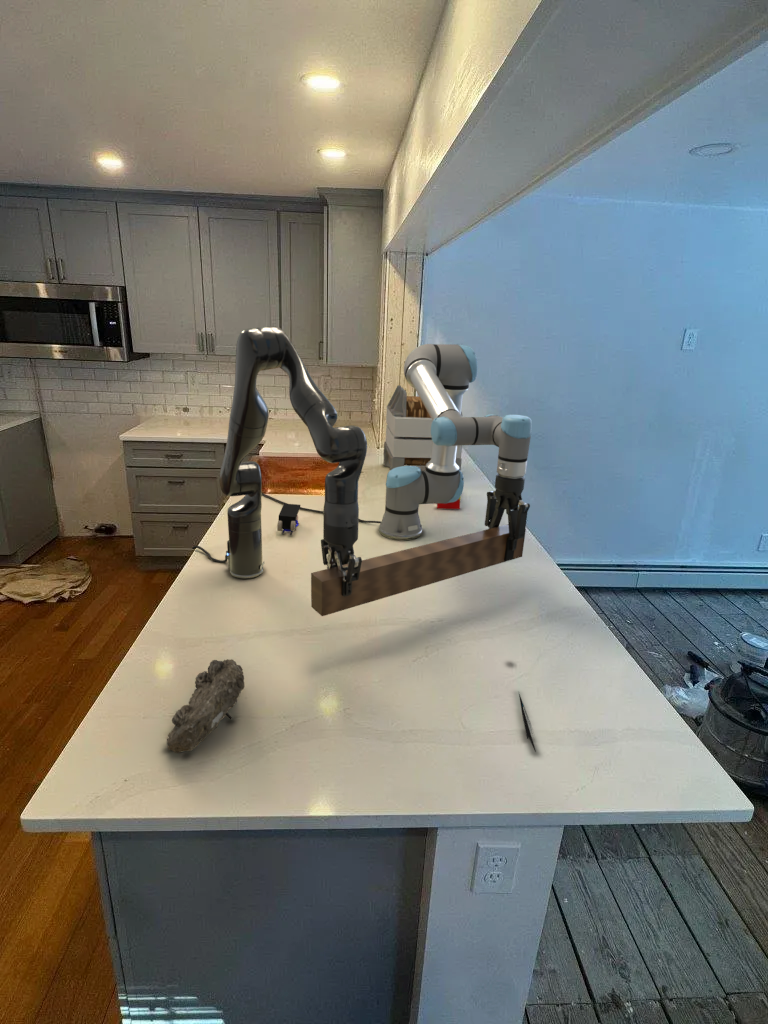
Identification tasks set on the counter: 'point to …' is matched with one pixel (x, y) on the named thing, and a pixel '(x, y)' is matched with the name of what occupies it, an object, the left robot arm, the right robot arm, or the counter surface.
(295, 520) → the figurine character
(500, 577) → the counter surface
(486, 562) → the post
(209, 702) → the fossil
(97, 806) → the counter surface
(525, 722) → the feather
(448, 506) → the toy
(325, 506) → the left robot arm
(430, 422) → the grey wooden crate
